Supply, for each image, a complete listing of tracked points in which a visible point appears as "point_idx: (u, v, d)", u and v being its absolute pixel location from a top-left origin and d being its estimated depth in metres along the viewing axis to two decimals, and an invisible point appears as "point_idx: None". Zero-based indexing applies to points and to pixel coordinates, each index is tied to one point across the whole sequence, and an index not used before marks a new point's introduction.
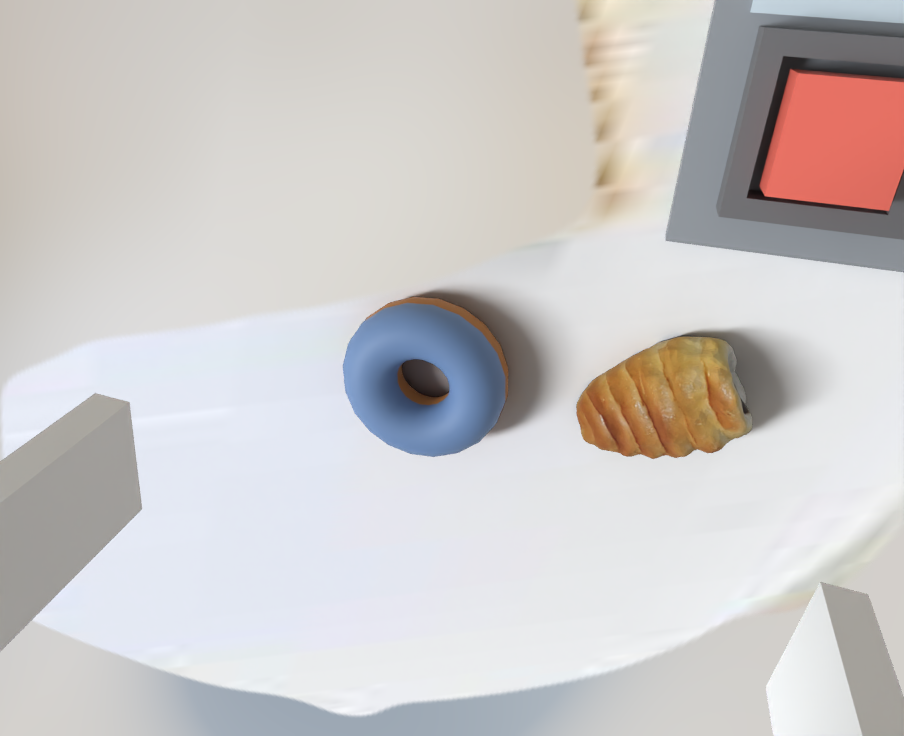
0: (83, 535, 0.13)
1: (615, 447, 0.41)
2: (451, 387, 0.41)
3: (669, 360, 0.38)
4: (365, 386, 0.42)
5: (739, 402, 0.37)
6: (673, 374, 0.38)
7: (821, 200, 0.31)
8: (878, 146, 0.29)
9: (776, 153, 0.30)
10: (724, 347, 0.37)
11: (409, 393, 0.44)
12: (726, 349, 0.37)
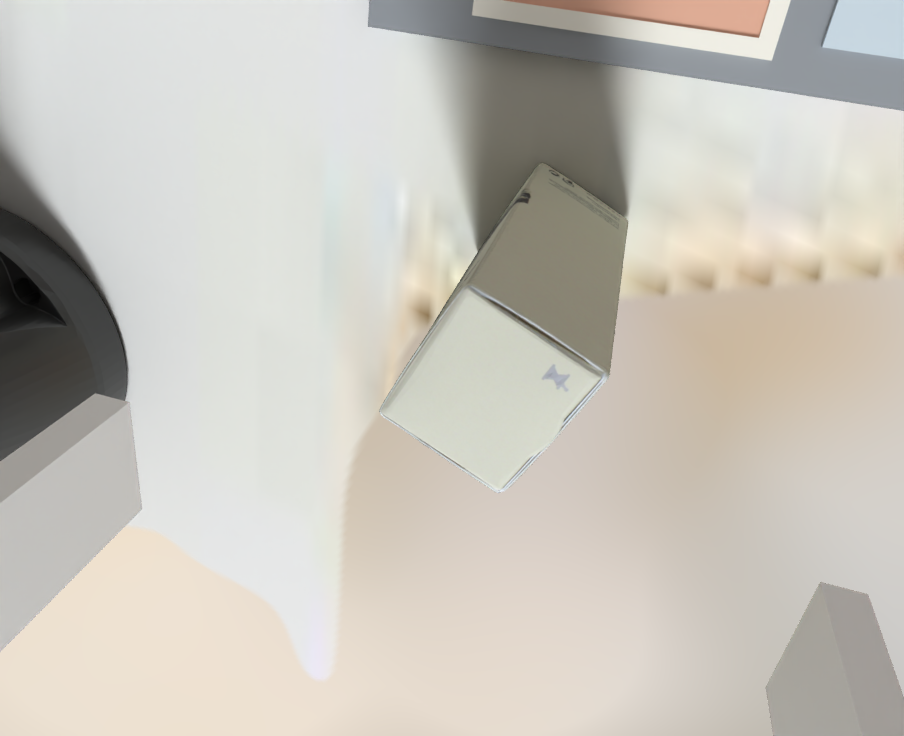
0: (83, 535, 0.13)
1: None
2: None
3: None
4: None
5: None
6: None
7: None
8: None
9: None
10: None
11: None
12: None
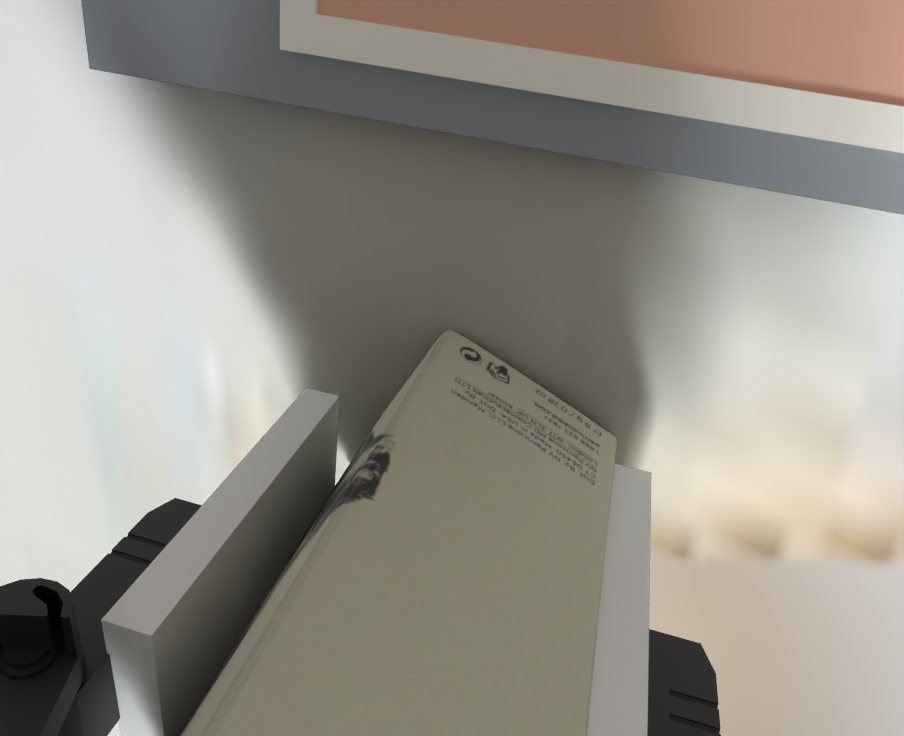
0: (303, 518, 0.15)
1: None
2: None
3: None
4: None
5: None
6: None
7: None
8: None
9: None
10: None
11: None
12: None
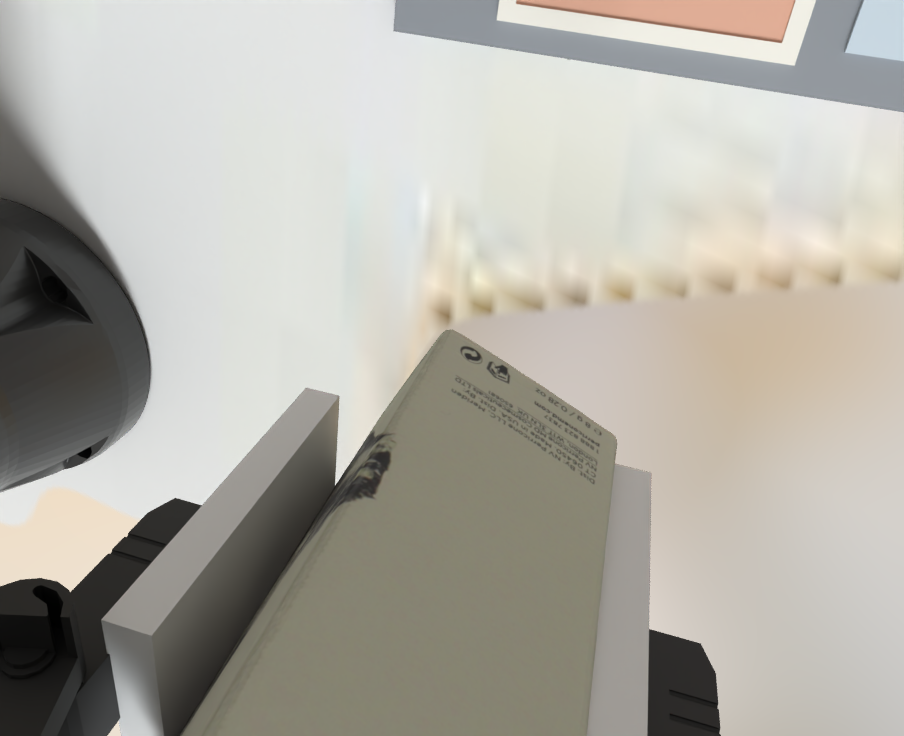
0: (303, 518, 0.15)
1: None
2: None
3: None
4: None
5: None
6: None
7: None
8: None
9: None
10: None
11: None
12: None
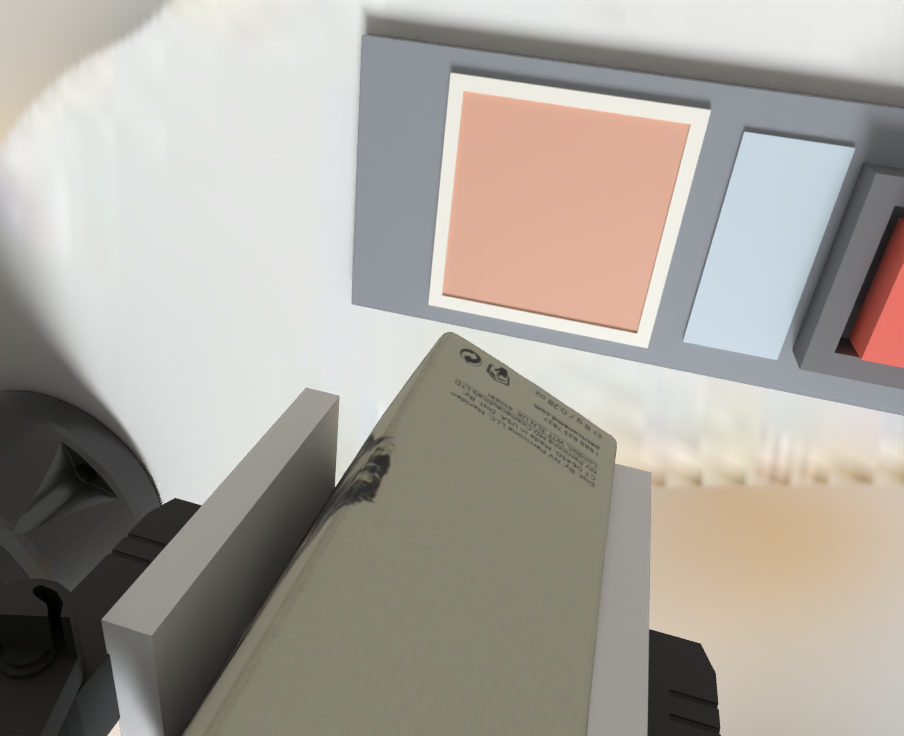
0: (303, 518, 0.15)
1: None
2: None
3: None
4: None
5: None
6: None
7: None
8: None
9: None
10: None
11: None
12: None
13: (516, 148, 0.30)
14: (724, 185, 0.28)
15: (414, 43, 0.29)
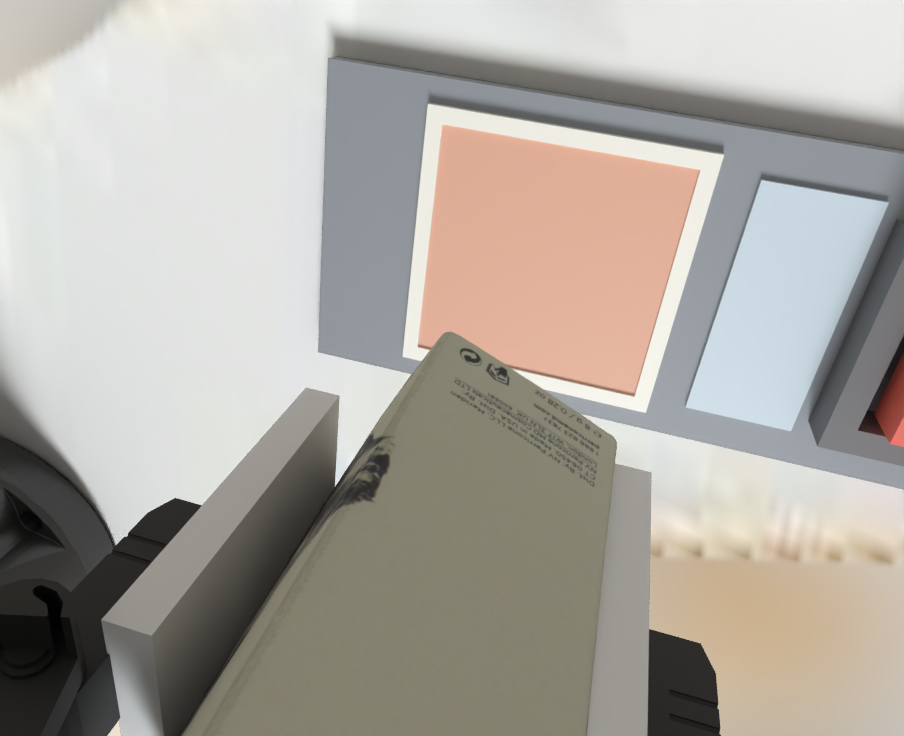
0: (303, 518, 0.15)
1: None
2: None
3: None
4: None
5: None
6: None
7: None
8: None
9: None
10: None
11: None
12: None
13: (501, 190, 0.26)
14: (736, 238, 0.25)
15: (387, 69, 0.25)
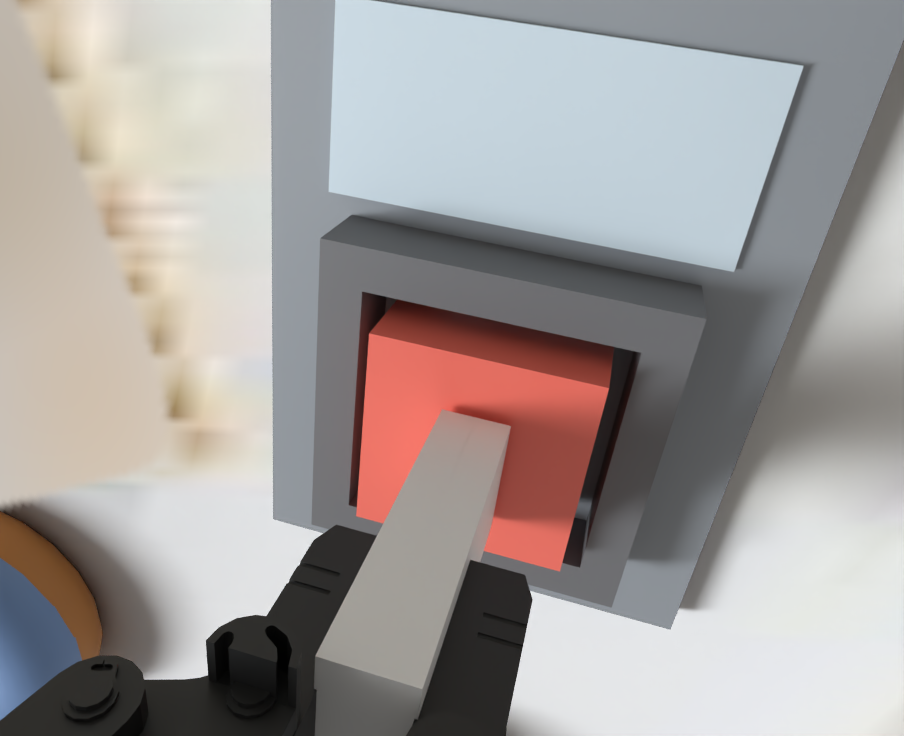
0: None
1: None
2: None
3: None
4: None
5: None
6: None
7: None
8: (528, 471, 0.16)
9: (361, 455, 0.17)
10: None
11: None
12: None
13: None
14: (686, 39, 0.13)
15: None
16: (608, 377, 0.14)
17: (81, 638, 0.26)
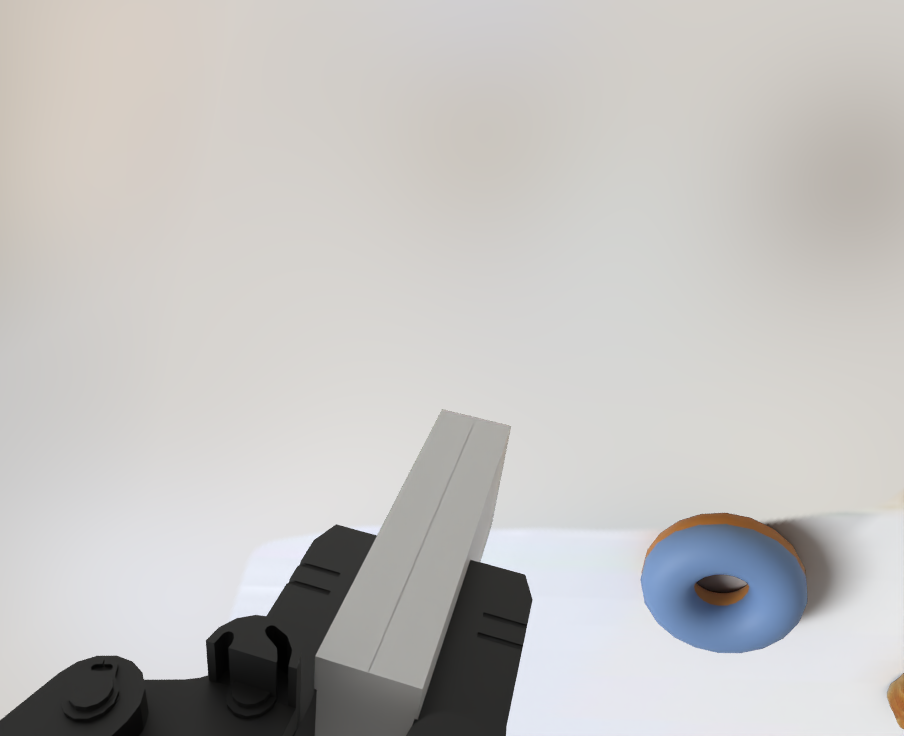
0: None
1: None
2: (757, 602, 0.44)
3: None
4: (673, 593, 0.45)
5: None
6: None
7: None
8: None
9: None
10: None
11: (699, 592, 0.47)
12: None
13: None
14: None
15: None
16: None
17: None
